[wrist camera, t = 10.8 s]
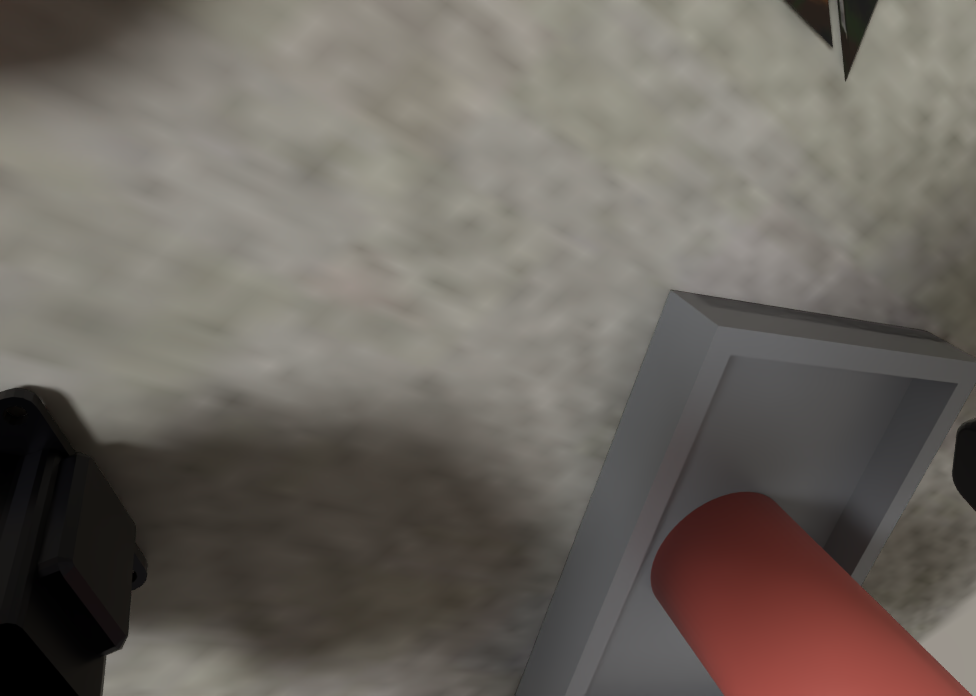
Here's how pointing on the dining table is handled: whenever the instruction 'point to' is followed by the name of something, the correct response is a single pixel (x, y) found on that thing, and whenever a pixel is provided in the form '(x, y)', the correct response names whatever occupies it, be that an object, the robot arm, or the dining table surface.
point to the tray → (741, 470)
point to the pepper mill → (782, 610)
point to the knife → (854, 20)
